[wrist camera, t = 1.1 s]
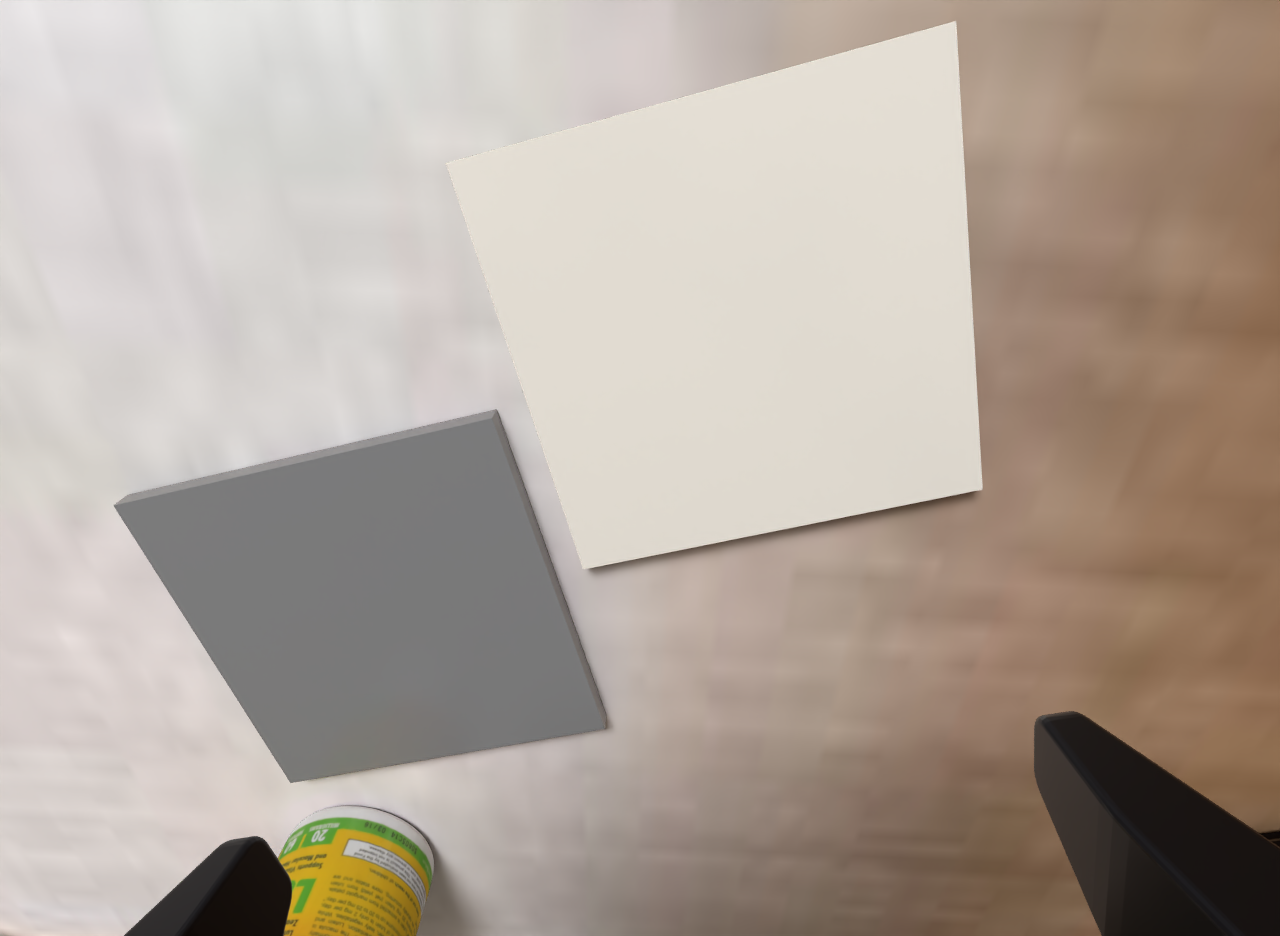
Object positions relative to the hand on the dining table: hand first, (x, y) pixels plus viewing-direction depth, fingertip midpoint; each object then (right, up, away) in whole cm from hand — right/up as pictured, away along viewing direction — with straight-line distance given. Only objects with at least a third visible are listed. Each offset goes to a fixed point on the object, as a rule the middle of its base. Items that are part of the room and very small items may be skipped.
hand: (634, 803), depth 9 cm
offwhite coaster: (+2, +7, +10) cm, 13 cm away
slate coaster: (-8, -1, +14) cm, 16 cm away
